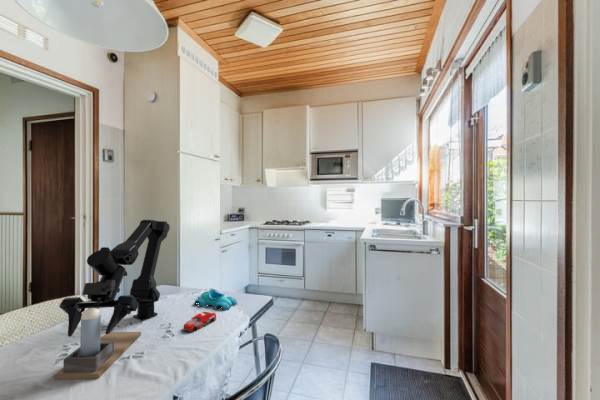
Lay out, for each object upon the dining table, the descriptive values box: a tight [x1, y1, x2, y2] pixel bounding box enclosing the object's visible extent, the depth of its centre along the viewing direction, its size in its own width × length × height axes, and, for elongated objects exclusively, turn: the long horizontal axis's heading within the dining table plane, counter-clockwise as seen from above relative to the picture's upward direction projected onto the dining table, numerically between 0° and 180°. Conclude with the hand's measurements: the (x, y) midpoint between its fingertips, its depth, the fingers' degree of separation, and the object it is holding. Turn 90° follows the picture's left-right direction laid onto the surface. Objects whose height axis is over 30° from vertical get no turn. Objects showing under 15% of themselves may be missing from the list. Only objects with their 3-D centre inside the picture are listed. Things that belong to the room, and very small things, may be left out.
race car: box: [183, 310, 217, 333], centre depth 100 cm, size 13×5×4 cm, turn 149°
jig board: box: [53, 331, 142, 381], centre depth 80 cm, size 22×11×5 cm, turn 5°
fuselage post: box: [79, 308, 102, 357], centre depth 74 cm, size 4×4×15 cm
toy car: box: [194, 288, 238, 311], centre depth 120 cm, size 11×18×7 cm, turn 70°
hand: (88, 335), depth 73 cm, fingers open, 9 cm apart
